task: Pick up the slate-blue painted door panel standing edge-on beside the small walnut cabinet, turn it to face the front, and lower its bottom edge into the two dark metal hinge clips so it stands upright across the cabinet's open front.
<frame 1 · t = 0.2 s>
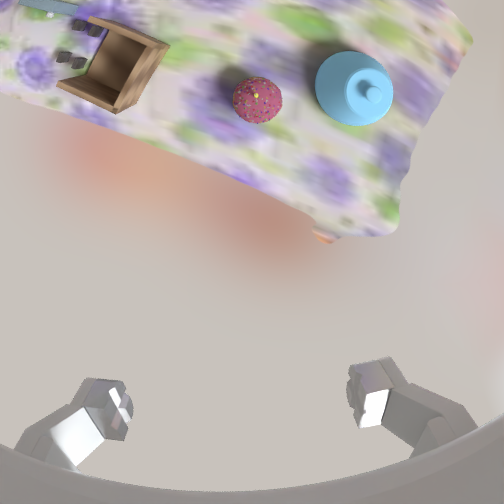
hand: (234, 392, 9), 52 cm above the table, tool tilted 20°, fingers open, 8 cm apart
sugar bowl: (348, 86, 49), on the table
cupcake: (255, 97, 50), on the table
cabinet: (122, 60, 42), on the table
door: (59, 5, 31), on the table
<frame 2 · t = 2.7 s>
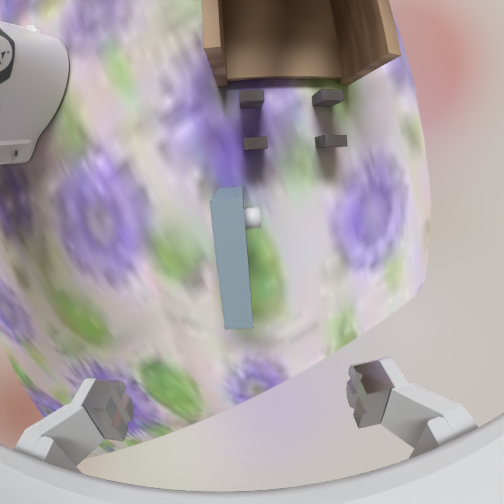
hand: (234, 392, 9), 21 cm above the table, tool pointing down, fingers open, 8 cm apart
cabinet: (279, 31, 23), on the table
door: (235, 236, 30), on the table
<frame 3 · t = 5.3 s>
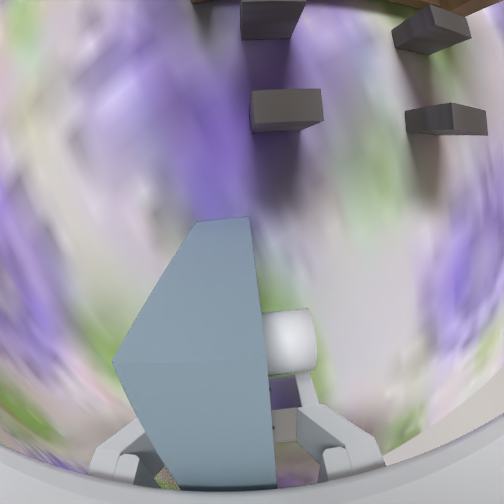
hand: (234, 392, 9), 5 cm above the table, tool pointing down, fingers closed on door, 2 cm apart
door: (235, 323, 14), on the table, touching gripper
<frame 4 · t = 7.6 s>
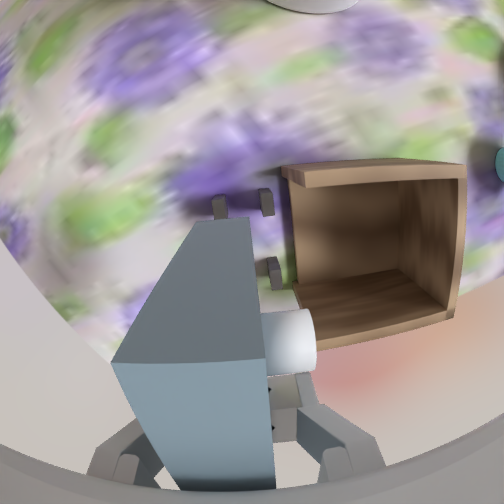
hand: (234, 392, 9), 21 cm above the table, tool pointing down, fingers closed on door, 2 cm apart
cupcake: (503, 164, 28), on the table
cabinet: (344, 224, 29), on the table
door: (235, 323, 14), point 16 cm above the table, touching gripper
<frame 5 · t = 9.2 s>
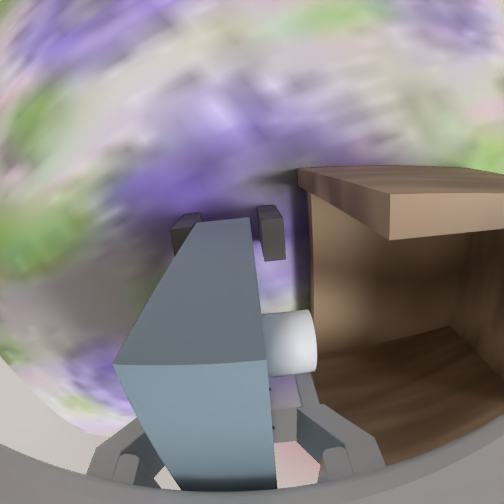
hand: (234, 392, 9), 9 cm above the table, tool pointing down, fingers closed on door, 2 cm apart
cabinet: (389, 265, 18), on the table
door: (236, 323, 14), point 5 cm above the table, touching gripper
when the fingers open (6 cm above the table, at t = 10.2 s): door drops 1 cm, on the table.
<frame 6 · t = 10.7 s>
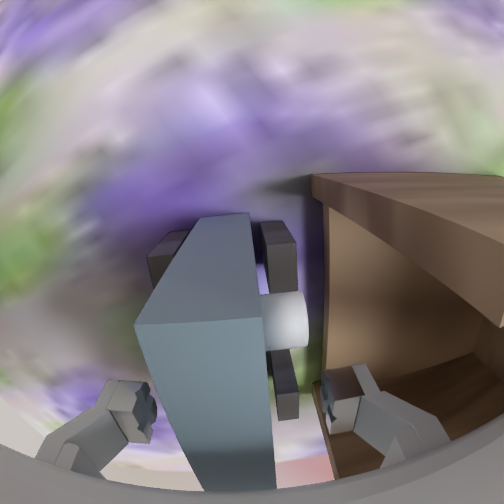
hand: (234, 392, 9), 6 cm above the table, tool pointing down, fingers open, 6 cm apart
cabinet: (414, 290, 15), on the table
door: (236, 313, 15), on the table
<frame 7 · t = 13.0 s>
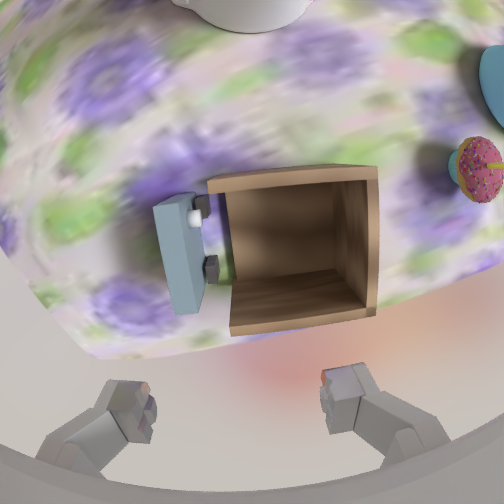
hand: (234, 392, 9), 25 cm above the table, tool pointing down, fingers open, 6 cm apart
sugar bowl: (501, 91, 28), on the table
cupcake: (459, 166, 32), on the table
cabinet: (279, 226, 33), on the table
door: (192, 236, 33), on the table
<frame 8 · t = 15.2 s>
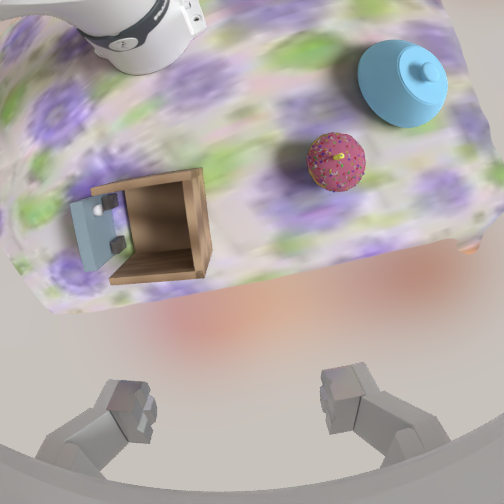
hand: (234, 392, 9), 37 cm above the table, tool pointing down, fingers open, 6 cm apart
sugar bowl: (393, 85, 39), on the table
cupcake: (327, 160, 43), on the table
cabinet: (163, 215, 45), on the table
door: (108, 222, 45), on the table
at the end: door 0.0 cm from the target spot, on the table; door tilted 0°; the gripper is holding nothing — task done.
